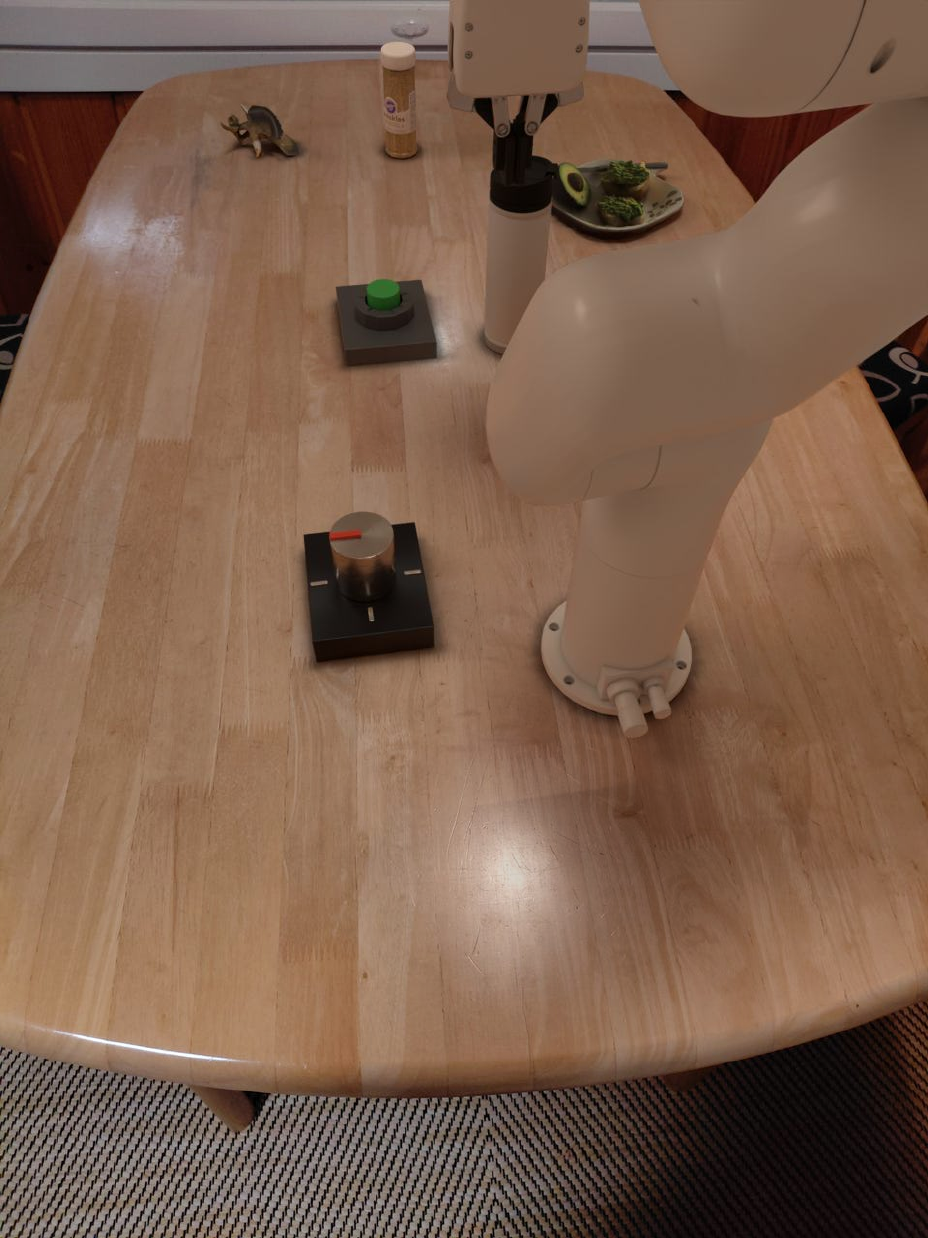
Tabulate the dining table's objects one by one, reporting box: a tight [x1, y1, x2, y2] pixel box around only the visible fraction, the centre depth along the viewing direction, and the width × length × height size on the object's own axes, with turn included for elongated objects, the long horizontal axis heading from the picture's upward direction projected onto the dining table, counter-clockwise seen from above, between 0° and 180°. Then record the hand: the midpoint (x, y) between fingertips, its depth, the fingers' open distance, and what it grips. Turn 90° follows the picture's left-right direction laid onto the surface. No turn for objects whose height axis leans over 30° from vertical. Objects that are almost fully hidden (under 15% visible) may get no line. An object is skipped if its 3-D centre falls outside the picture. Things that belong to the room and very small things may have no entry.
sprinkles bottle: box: [379, 41, 418, 159], centre depth 126 cm, size 5×5×13 cm
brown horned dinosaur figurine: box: [219, 103, 300, 158], centre depth 129 cm, size 8×7×9 cm
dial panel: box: [303, 521, 435, 663], centre depth 81 cm, size 12×10×3 cm
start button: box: [367, 278, 400, 311], centre depth 103 cm, size 4×4×2 cm
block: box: [335, 279, 438, 367], centre depth 104 cm, size 12×10×4 cm
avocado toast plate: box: [551, 157, 685, 241], centre depth 122 cm, size 19×18×5 cm
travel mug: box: [483, 154, 559, 355], centre depth 97 cm, size 6×7×20 cm
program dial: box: [329, 511, 397, 602], centre depth 77 cm, size 5×5×6 cm
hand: (510, 176), depth 78 cm, fingers closed
